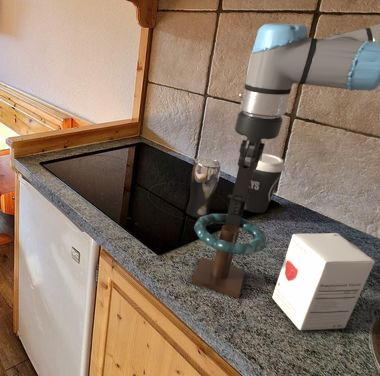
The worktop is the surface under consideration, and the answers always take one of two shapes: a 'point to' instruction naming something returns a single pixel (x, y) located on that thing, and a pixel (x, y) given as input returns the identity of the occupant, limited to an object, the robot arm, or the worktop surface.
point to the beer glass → (202, 186)
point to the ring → (228, 246)
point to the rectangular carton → (321, 280)
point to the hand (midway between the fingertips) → (232, 223)
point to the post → (221, 268)
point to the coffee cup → (264, 182)
